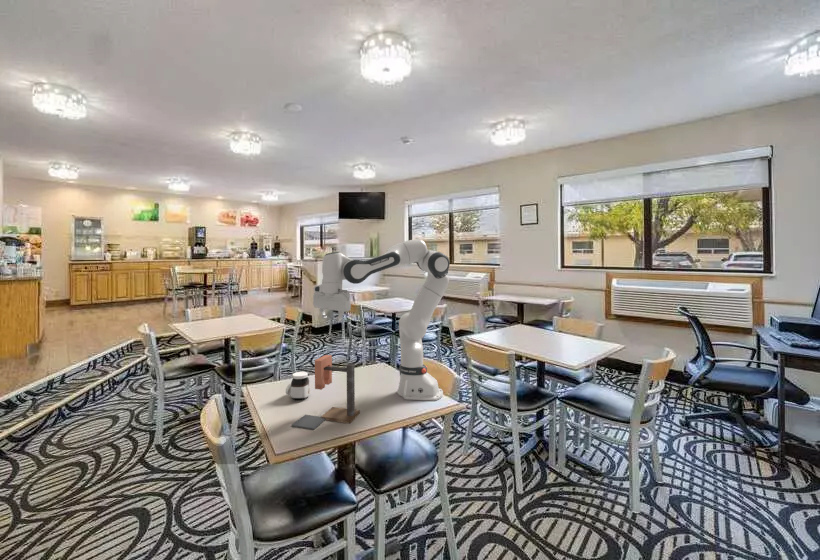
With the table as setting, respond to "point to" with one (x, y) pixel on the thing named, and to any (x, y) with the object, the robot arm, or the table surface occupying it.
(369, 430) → the table surface
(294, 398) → the spread jar
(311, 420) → the coaster
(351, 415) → the stand
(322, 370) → the link
